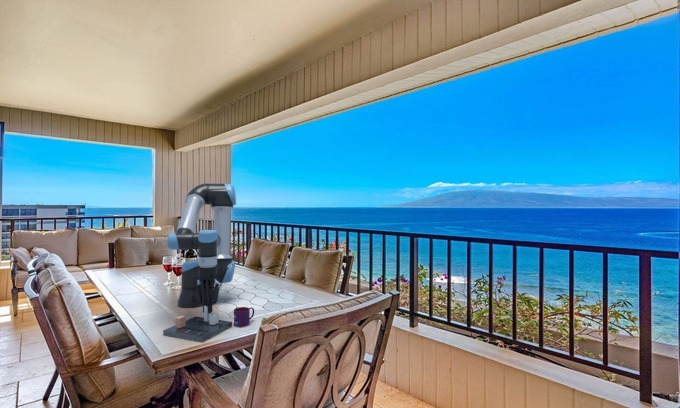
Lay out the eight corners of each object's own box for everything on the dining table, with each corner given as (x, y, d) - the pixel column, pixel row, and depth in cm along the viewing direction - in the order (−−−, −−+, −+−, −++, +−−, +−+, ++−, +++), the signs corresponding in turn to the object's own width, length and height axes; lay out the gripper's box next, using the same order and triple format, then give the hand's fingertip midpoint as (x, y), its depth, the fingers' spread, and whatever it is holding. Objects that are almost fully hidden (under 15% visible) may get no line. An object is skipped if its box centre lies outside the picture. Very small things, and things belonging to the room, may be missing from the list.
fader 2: (209, 324, 144) (209, 314, 144) (214, 321, 146) (214, 312, 146) (213, 324, 143) (213, 315, 143) (218, 322, 146) (218, 313, 146)
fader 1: (175, 327, 140) (175, 317, 139) (181, 325, 142) (181, 315, 142) (179, 328, 139) (180, 318, 139) (185, 325, 142) (185, 316, 142)
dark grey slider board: (163, 335, 137) (163, 330, 137) (195, 320, 154) (195, 316, 154) (202, 342, 130) (202, 337, 130) (232, 326, 147) (232, 321, 147)
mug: (230, 324, 150) (231, 309, 150) (250, 319, 157) (251, 304, 157) (238, 328, 145) (238, 312, 145) (258, 322, 152) (258, 307, 152)
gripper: (189, 266, 144) (189, 321, 145) (214, 268, 140) (214, 325, 141) (201, 263, 151) (201, 315, 152) (225, 265, 147) (225, 319, 148)
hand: (207, 320), depth 146 cm, fingers closed
